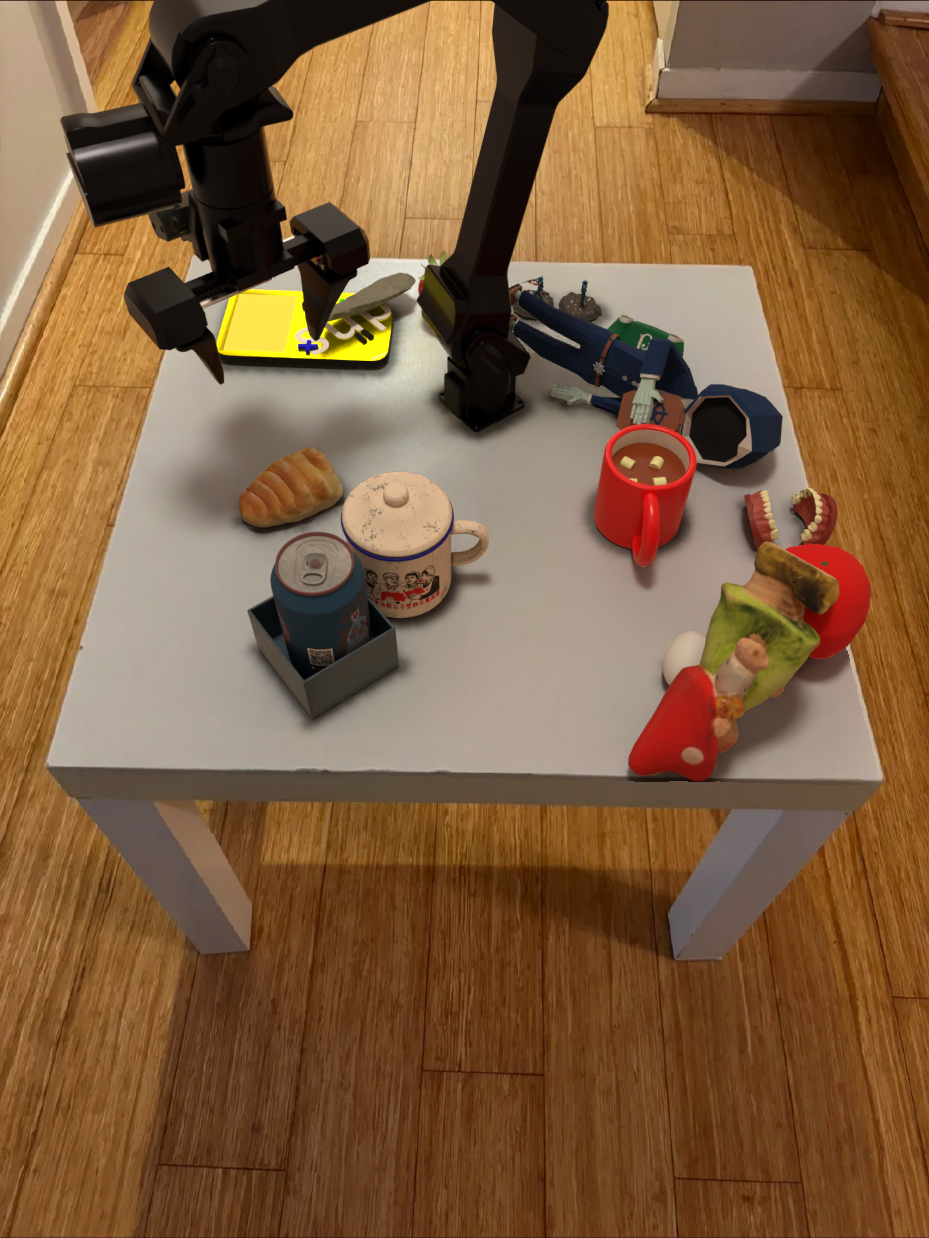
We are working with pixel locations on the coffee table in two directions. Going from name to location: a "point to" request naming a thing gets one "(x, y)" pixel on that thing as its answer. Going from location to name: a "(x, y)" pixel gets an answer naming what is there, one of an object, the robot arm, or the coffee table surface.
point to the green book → (642, 333)
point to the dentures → (807, 503)
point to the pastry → (291, 490)
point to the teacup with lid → (406, 541)
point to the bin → (336, 677)
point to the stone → (373, 295)
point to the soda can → (320, 600)
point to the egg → (683, 654)
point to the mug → (644, 488)
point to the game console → (300, 333)
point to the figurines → (565, 302)
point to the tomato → (850, 605)
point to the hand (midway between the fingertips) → (267, 359)
